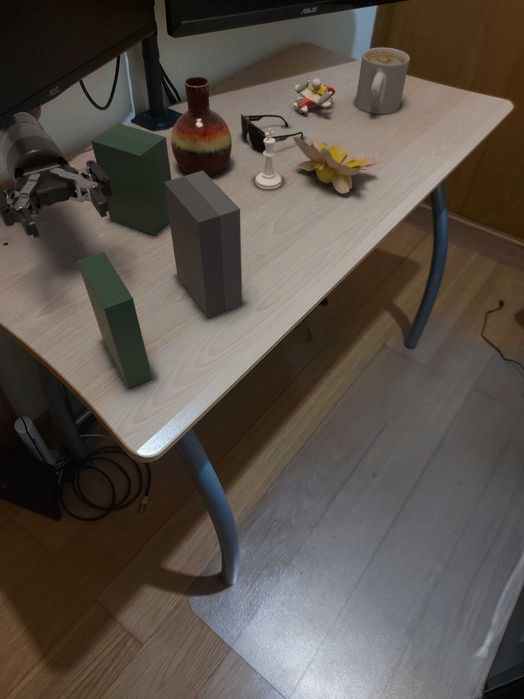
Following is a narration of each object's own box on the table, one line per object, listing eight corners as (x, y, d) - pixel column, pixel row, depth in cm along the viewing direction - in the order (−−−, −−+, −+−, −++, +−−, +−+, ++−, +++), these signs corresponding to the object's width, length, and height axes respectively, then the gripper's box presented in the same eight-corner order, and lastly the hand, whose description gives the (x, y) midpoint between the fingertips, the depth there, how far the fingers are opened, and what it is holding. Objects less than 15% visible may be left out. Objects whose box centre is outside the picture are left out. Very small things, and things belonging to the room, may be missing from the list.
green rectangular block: (154, 236, 84) (140, 155, 74) (110, 220, 87) (90, 140, 76) (176, 216, 88) (166, 136, 77) (134, 201, 91) (118, 122, 80)
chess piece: (249, 180, 95) (249, 127, 88) (270, 172, 97) (272, 119, 90) (265, 192, 93) (266, 139, 85) (287, 183, 95) (290, 130, 87)
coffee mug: (366, 90, 121) (373, 44, 114) (406, 101, 118) (416, 53, 110) (341, 112, 114) (348, 64, 106) (383, 124, 111) (393, 75, 103)
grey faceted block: (207, 318, 72) (198, 222, 60) (177, 277, 78) (163, 181, 66) (242, 304, 74) (240, 208, 62) (210, 265, 80) (202, 170, 67)
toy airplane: (334, 102, 117) (338, 72, 112) (329, 120, 111) (333, 90, 106) (294, 98, 118) (296, 68, 113) (288, 116, 112) (289, 85, 107)
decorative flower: (393, 176, 93) (392, 126, 85) (348, 210, 91) (342, 162, 83) (335, 149, 102) (330, 101, 94) (293, 179, 99) (283, 132, 91)
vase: (165, 159, 100) (154, 75, 88) (218, 146, 103) (213, 64, 92) (187, 187, 94) (177, 100, 82) (242, 173, 97) (240, 88, 85)
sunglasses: (232, 134, 106) (234, 109, 103) (280, 128, 112) (284, 104, 108) (258, 157, 100) (261, 132, 97) (308, 150, 106) (312, 125, 102)
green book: (128, 389, 64) (103, 308, 53) (103, 342, 69) (76, 260, 58) (152, 378, 65) (133, 298, 54) (126, 333, 70) (104, 251, 59)
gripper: (-30, 148, 67) (-1, 212, 59) (77, 123, 72) (118, 178, 63) (-8, 198, 73) (22, 263, 64) (90, 171, 78) (130, 228, 69)
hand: (70, 221), depth 64 cm, fingers open, 8 cm apart
